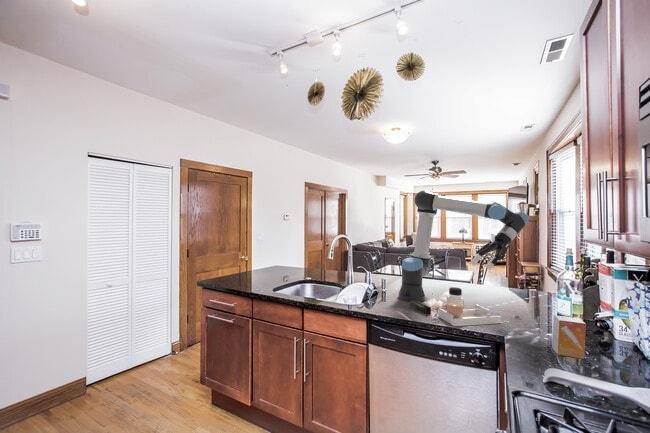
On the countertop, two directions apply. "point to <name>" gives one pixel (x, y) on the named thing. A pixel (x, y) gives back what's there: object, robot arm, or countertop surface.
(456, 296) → the medicine bottle
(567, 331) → the small box
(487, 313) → the pusher
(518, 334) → the countertop surface
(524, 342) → the countertop surface
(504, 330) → the countertop surface
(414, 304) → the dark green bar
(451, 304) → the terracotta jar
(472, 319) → the white tray
